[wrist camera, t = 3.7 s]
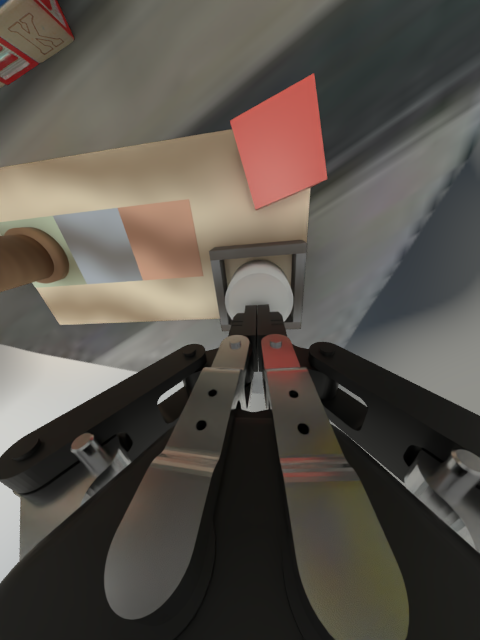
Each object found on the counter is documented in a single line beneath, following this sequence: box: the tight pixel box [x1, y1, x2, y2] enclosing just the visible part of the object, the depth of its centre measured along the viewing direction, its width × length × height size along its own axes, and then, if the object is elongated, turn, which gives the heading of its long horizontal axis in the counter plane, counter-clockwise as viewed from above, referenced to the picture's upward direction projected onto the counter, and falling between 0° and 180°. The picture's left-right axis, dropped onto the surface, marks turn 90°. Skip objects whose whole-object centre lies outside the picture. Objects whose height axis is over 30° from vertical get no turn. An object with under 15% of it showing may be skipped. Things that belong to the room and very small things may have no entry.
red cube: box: [230, 73, 327, 211], centre depth 11 cm, size 4×4×4 cm
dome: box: [225, 260, 293, 321], centre depth 14 cm, size 5×5×5 cm
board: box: [0, 129, 310, 331], centre depth 16 cm, size 14×27×3 cm, turn 95°
